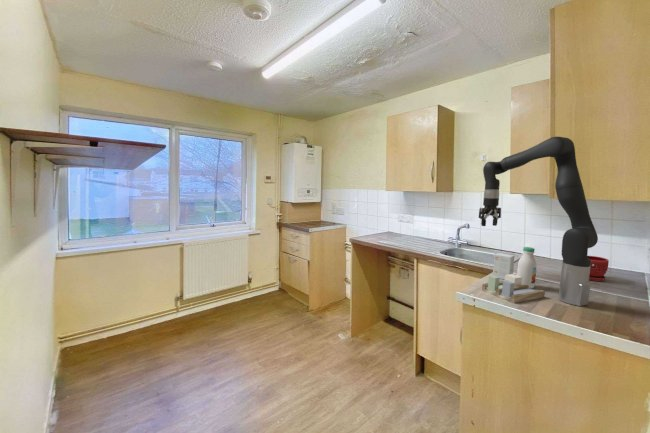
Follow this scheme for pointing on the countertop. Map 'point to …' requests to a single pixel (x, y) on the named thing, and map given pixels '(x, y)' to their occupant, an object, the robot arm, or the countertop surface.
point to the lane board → (516, 297)
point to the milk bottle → (527, 267)
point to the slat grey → (512, 289)
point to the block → (514, 279)
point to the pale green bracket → (493, 283)
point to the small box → (503, 265)
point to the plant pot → (598, 268)
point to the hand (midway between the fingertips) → (489, 225)
